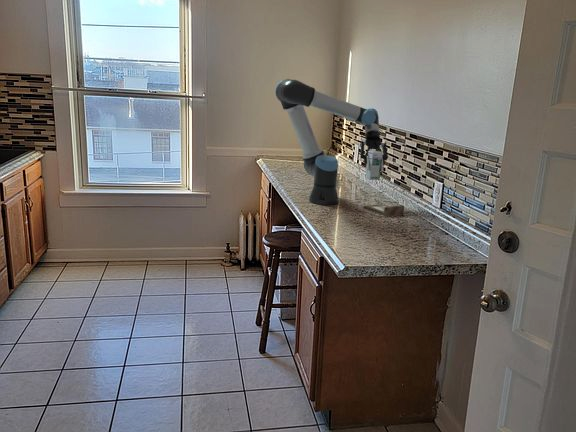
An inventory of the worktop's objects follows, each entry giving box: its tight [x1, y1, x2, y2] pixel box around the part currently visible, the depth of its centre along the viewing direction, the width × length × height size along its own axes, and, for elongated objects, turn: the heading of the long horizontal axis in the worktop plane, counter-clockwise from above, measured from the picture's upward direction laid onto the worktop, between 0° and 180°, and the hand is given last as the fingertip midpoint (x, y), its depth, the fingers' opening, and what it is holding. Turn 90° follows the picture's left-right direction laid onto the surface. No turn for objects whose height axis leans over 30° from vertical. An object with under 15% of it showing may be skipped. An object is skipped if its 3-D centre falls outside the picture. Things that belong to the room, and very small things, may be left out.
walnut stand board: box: [363, 203, 405, 217], centre depth 255 cm, size 12×16×4 cm
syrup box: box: [365, 150, 384, 181], centre depth 263 cm, size 6×6×14 cm
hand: (375, 169), depth 261 cm, fingers closed on syrup box, 7 cm apart
